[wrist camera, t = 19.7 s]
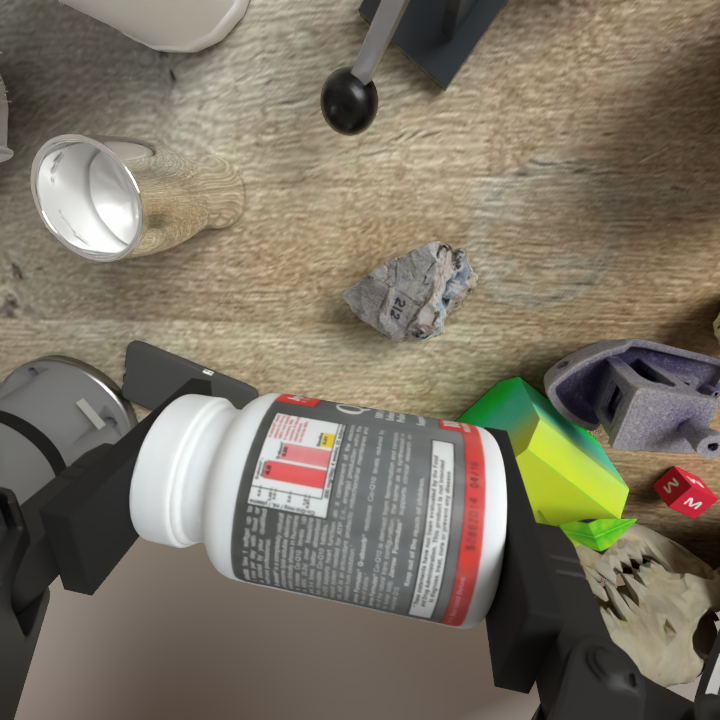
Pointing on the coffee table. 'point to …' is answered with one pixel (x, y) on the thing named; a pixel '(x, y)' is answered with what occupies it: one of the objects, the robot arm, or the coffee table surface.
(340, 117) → the lever
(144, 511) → the pill bottle
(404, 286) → the mineral specimen
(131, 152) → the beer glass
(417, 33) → the bracket
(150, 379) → the cell phone
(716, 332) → the fruit
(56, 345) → the coffee table surface
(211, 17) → the bottle
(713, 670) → the gauge
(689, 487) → the dice
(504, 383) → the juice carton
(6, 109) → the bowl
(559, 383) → the toy boat
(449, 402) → the coffee table surface
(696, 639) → the animal skull
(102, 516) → the robot arm
